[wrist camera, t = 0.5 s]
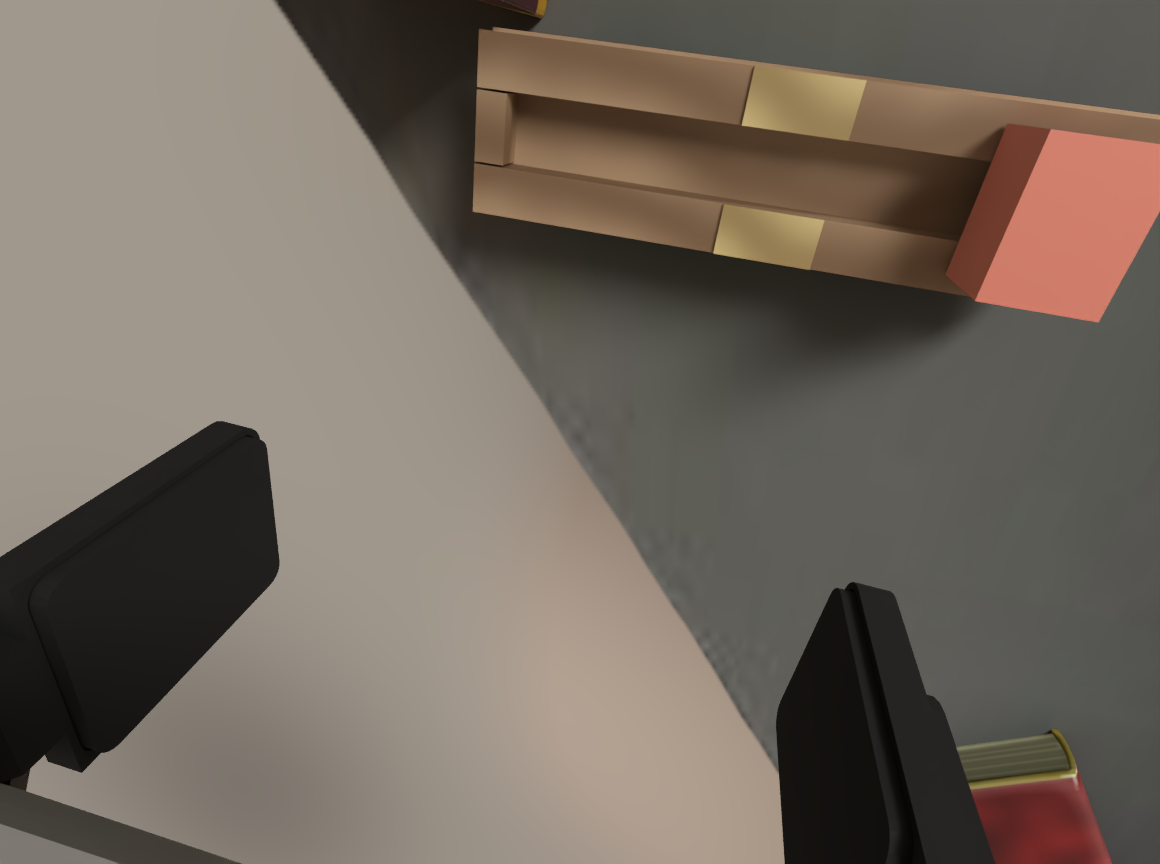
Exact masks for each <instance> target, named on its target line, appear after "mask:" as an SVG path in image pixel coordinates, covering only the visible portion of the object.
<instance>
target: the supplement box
mask: <svg viewBox="0 0 1160 864" xmlns="http://www.w3.org/2000/svg"><path fill="white" fill-rule="evenodd" d="M479 1H482V2H486V3H489V4H493V5H496V6H500V7H503V8H507V9H510V10H514V11H517V12H521V13H524V14H528V15H531V16H534V17H538V18H542V17H543V16H544V13H545V9H546V4H547V0H479Z"/></svg>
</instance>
